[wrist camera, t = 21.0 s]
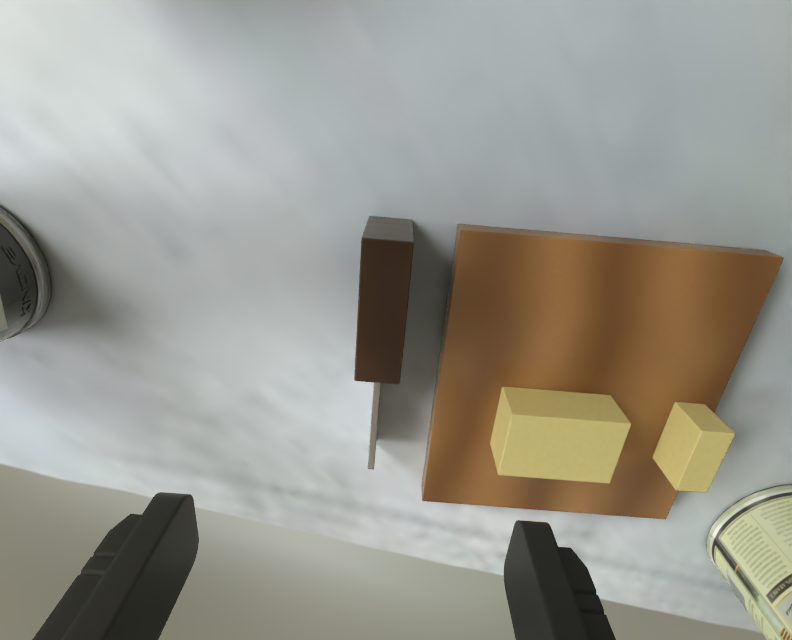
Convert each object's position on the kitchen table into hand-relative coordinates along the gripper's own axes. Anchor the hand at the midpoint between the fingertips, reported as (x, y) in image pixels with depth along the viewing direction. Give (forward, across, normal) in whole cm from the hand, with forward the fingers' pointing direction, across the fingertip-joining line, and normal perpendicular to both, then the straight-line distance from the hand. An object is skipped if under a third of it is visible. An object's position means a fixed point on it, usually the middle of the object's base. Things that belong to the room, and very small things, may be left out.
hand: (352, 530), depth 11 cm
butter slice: (+17, -20, +8) cm, 27 cm away
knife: (+18, 0, +4) cm, 19 cm away
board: (+18, -13, +6) cm, 23 cm away
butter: (+17, -12, +8) cm, 22 cm away
